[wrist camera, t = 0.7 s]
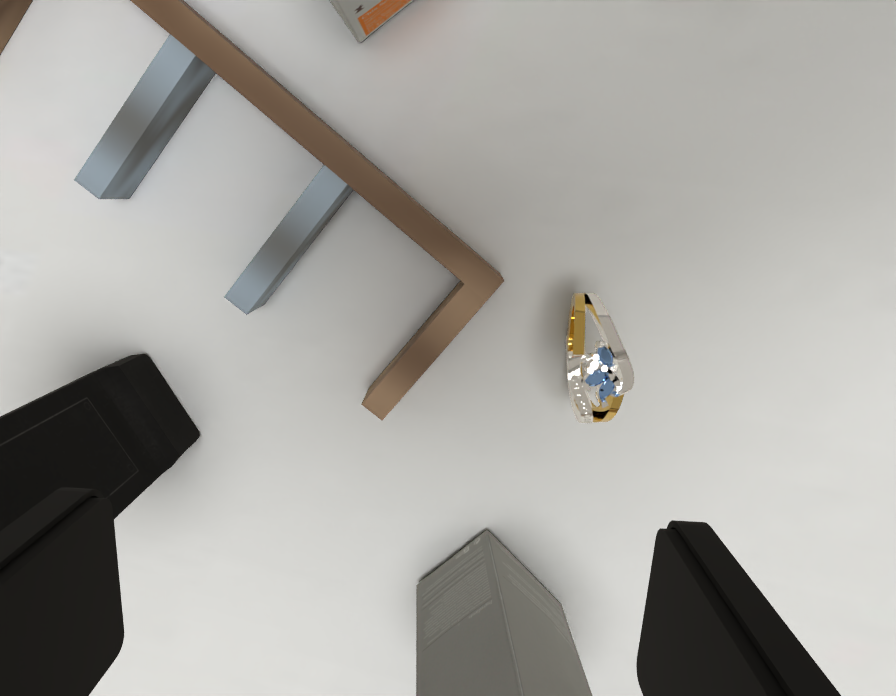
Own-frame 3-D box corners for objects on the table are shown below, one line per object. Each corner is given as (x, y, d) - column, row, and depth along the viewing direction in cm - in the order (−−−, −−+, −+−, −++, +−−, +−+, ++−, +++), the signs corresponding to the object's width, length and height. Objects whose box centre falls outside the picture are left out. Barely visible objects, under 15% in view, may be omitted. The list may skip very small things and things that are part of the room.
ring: (548, 283, 35) (575, 307, 27) (603, 283, 35) (645, 309, 27) (542, 395, 37) (565, 449, 29) (594, 396, 37) (632, 450, 29)
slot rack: (58, -108, 30) (16, -140, 28) (500, 273, 35) (504, 280, 32) (-42, 64, 33) (-91, 51, 30) (387, 402, 37) (382, 420, 34)
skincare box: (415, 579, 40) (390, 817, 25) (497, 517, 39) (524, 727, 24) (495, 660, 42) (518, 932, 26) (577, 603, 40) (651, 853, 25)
